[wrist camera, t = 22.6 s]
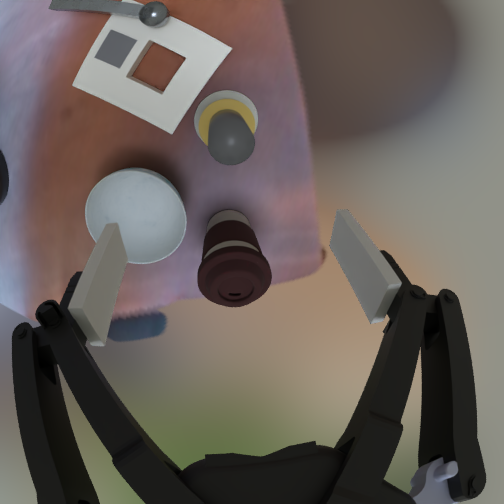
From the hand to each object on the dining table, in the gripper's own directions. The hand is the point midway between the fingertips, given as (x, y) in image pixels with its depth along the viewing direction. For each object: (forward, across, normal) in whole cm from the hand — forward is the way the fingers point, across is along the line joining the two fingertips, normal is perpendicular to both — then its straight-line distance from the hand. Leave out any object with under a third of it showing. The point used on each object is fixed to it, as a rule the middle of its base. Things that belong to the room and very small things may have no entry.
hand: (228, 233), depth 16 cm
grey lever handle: (+22, -14, +20) cm, 33 cm away
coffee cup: (+27, +1, -17) cm, 32 cm away
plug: (+26, +1, +2) cm, 26 cm away
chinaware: (+27, -12, -10) cm, 31 cm away
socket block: (+27, -9, +11) cm, 30 cm away
